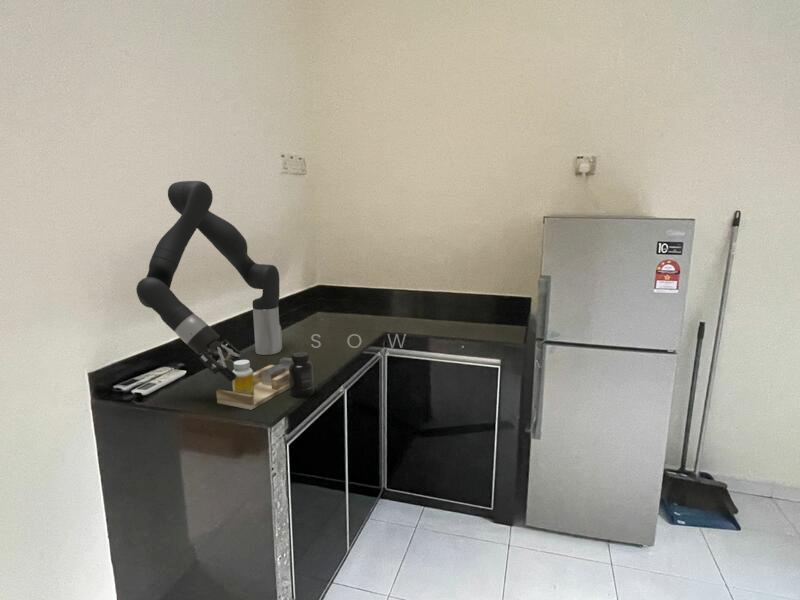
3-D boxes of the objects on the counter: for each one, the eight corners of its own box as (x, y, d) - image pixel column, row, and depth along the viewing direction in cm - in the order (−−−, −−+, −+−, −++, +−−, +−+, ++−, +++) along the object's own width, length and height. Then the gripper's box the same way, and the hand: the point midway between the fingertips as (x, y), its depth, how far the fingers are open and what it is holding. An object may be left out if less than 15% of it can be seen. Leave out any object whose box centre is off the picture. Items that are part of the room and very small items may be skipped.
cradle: (269, 376, 155) (269, 364, 154) (300, 381, 150) (300, 368, 149) (217, 403, 134) (216, 388, 133) (251, 409, 129) (250, 395, 129)
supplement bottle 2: (315, 389, 144) (313, 350, 142) (312, 397, 137) (310, 357, 135) (292, 389, 144) (290, 351, 142) (288, 398, 137) (286, 358, 135)
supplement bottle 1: (229, 396, 135) (226, 362, 133) (247, 391, 139) (245, 357, 138) (239, 402, 131) (237, 366, 130) (258, 396, 136) (256, 361, 134)
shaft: (284, 371, 156) (283, 357, 155) (296, 373, 154) (296, 359, 153) (260, 383, 145) (259, 368, 144) (273, 386, 143) (272, 370, 142)
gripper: (193, 331, 125) (239, 373, 127) (216, 319, 139) (257, 357, 141) (175, 350, 126) (221, 392, 128) (200, 336, 140) (241, 374, 142)
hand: (240, 373), depth 134 cm, fingers open, 8 cm apart
